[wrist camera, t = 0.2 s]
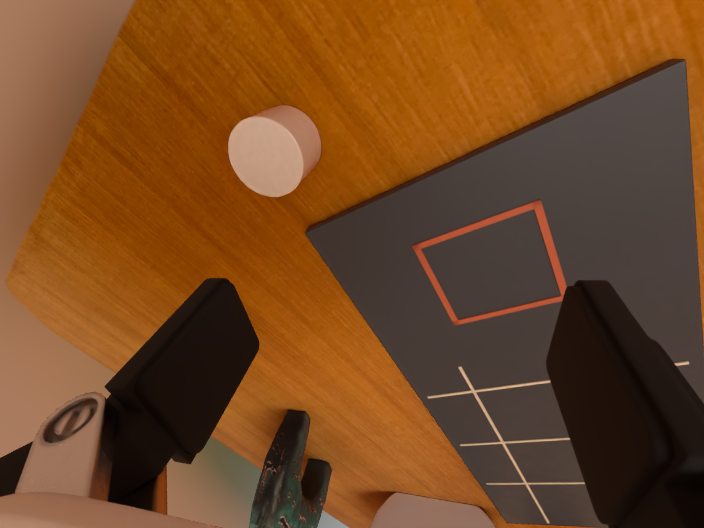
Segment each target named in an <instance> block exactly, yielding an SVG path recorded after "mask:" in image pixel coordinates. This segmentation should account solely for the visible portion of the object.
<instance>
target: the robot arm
mask: <svg viewBox="0 0 704 528" xmlns="http://www.w3.org/2000/svg"><path fill="white" fill-rule="evenodd" d="M258 350H259V340H258V338H257V335H256V333H255V331H254V329H253V326H252V324H251V322H250V320H249V318H248V315H247V313H246V311H245V309H244V306H243V304H242V302H241V300H240V297H239V295H238V293H237V291H236V289H235V286H234V285H233V284H232V283H230V281H229V280H228V279H225V278H209V279H206V280H205V281H204V282H203V283H202V284H201V285H200V286H199V287H198V288H197V289H196V290H195V291H194V292H193V294H192V295H191V296H190V297H189V298H188V299H187V300H186V301H185V302H184V303H183V304H182V305H181V306H180V307H179V308H178V309H177V310H176V311H175V313H174V314H173V315H172V316H171V317H170V318H169V319H168V320H167V321H166V322H165V323H164V324H163V325H162V326H161V327H160V328H159V329H158V331H157V332H156V333H155V334H154V335H153V336H152V337H151V338H150V339H149V340H148V341H147V342H146V343H145V344H144V345H143V346H142V347H141V348H140V350H139V351H138V352H137V353H136V354H135V355H134V356H133V357H132V358H131V359H130V360H129V361H128V362H127V363H126V364H125V365H124V366H123V367H122V369H121V370H120V371H119V372H118V373H117V374H116V375H115V376H114V377H113V378H112V379H111V380H110V381H109V382H108V383H107V384H106V385H105V388H106V389H107V390H108V391H109V392H110V393H111V395H110V396H109V397H108V398H107V399H106V398H105V397H104V396H103V395H102V394H101V393H97V392H91V393H85V394H83V395H80V396H77V397H75V398H73V399H72V400H69V401H67V402H66V403H65V404H63V405H62V406H61V407H59V408H57V409H56V410H55V411H54V412H53V413H52V414H51V415H50V416H49V417H47V419H46V420H45V421H44V422H43V424H42V425H41V426H40V428H39V430H38V431H37V433H36V435H35V438H34V441H33V442H31V443H29V444H27V445H25V446H23V447H21V448H19V449H17V450H15V451H13V452H11V453H9V454H7V455H5V456H3V457H1V458H0V528H221V527H217V526H212V525H208V524H204V523H199V522H195V521H191V520H186V519H182V518H178V517H173V516H169V515H167V474H166V473H167V469H166V468H167V466H166V465H167V463H168V462H169V460H170V458H172V459H173V460H174V461H175V462H181V463H186V464H191V463H192V461H193V459H194V457H195V456H196V454H197V453H199V452H200V451H201V450H202V449H203V448H204V446H205V445H206V443H207V441H208V439H209V438H210V436H211V434H212V432H213V430H214V429H215V427H216V425H217V423H218V422H219V420H220V418H221V416H222V414H223V413H224V411H225V409H226V407H227V406H228V404H229V402H230V400H231V398H232V397H233V395H234V393H235V391H236V390H237V388H238V386H239V384H240V382H241V381H242V379H243V377H244V375H245V374H246V372H247V370H248V368H249V366H250V365H251V363H252V361H253V359H254V358H255V356H256V354H257V352H258ZM546 368H547V372H548V376H549V379H550V382H551V384H552V387H553V390H554V393H555V396H556V399H557V402H558V405H559V408H560V411H561V414H562V417H563V420H564V423H565V426H566V429H567V432H568V435H569V438H570V441H571V444H572V447H573V450H574V453H575V456H576V459H577V462H578V464H579V467H580V470H581V473H582V476H583V479H584V482H585V485H586V488H587V491H588V494H589V497H590V500H591V503H592V506H593V509H594V512H595V514H596V516H597V518H598V520H599V521H600V522H601V523H602V524H606V525H608V527H609V528H704V403H703V402H702V400H701V399H700V398H699V396H698V395H697V394H696V392H695V391H694V389H693V388H692V387H691V385H690V384H689V383H688V381H687V380H686V379H685V377H684V376H683V375H682V373H681V372H680V370H679V369H678V368H677V366H676V365H675V364H674V362H673V361H672V360H671V358H670V357H669V355H668V354H667V353H666V351H665V350H664V349H663V347H662V346H661V345H660V344H659V343H658V342H657V341H655V340H653V339H652V338H649V337H648V336H647V334H646V333H645V331H644V330H643V329H642V327H641V326H640V324H639V323H638V322H637V320H636V319H635V317H634V316H633V315H632V313H631V312H630V310H629V309H628V308H627V306H626V305H625V303H624V302H623V301H622V299H621V298H620V296H619V295H618V294H617V292H616V291H615V289H614V288H613V287H612V285H611V284H610V283H609V282H608V281H606V280H578V281H576V282H575V284H574V286H568V287H567V288H566V290H565V293H564V297H563V300H562V304H561V308H560V311H559V315H558V318H557V322H556V326H555V329H554V333H553V336H552V340H551V344H550V347H549V351H548V354H547V358H546Z"/></svg>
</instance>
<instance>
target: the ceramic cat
mask: <svg viewBox="0 0 704 528" xmlns="http://www.w3.org/2000/svg"><path fill="white" fill-rule="evenodd" d="M309 425H310V418H309V417H308V415H307V414H306V412H301V411H292V410H288V411H287V413H286V415H285V417H284V420H283V422H282V423H281V425H280V427H279V429H278V431H277V433H276V436H275V438H274V440H273V442H272V445H271V447H270V449H269V451H268V453H267V456H266V458H265V462H264V466H263V470H262V473H261V476H260V479H259V483H258V486H257V490H256V494H255V497H254V501H253V505H252V511H251V518H250V525H249V528H317V526H318V523H319V520H320V517H321V513H322V509H323V506H324V503H325V501H326V496H327V491H328V485H329V481H330V476H331V472H332V470H331V468H330V465H329V463H327V462H325V461H321V460H315V459H309V460H308V462H307V465H306V468H305V472H304V475H303V477H302V480H301V469H302V461H303V455H304V451H305V446H306V440H307V436H308V432H309Z"/></svg>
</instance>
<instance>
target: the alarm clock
mask: <svg viewBox="0 0 704 528" xmlns="http://www.w3.org/2000/svg"><path fill="white" fill-rule="evenodd" d="M369 528H496V527H495V526H494V524H493V523H492V521H491V520H490V519H489V517H488V516H487V514H486V513H485V512H484V511H483V510H481V509H480V508H479V507H478V506H474V505H468V504H462V503H456V502H451V501H445V500H439V499H433V498H427V497H421V496H416V495H410V494H404V493H398V492H396V493H394V494H393V495H391V496H390V497H389V498H388V499H387V500H386V501H385V502H384V504H383V505H382V506H381V507H380V508H379V509H378V510H377V512H376V515H375V517H374V519H373V521H372V523H371V525H370V527H369Z"/></svg>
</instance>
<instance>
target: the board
mask: <svg viewBox="0 0 704 528" xmlns="http://www.w3.org/2000/svg"><path fill="white" fill-rule="evenodd" d="M305 234H306V236H307V237H308V239H309V240H310V241H311V243H312V244H313V246H314V247H315V249H316V250H317V251H318V253H319V254H320V256H321V257H322V259H323V260H324V262H325V263H326V264H327V266H328V267H329V269H330V270H331V272H332V273H333V274H334V276H335V277H336V279H337V280H338V282H339V283H340V284H341V286H342V287H343V289H344V290H345V292H346V293H347V295H348V296H349V297H350V299H351V300H352V302H353V303H354V305H355V306H356V307H357V309H358V310H359V312H360V313H361V315H362V316H363V317H364V319H365V320H366V322H367V323H368V325H369V326H370V328H371V329H372V330H373V332H374V333H375V335H376V336H377V338H378V339H379V340H380V342H381V343H382V345H383V346H384V348H385V349H386V350H387V352H388V353H389V355H390V356H391V358H392V359H393V361H394V362H395V363H396V365H397V366H398V368H399V369H400V371H401V372H402V373H403V375H404V376H405V378H406V379H407V381H408V382H409V383H410V385H411V386H412V388H413V389H414V391H415V392H416V394H417V395H418V396H419V398H420V399H421V401H422V402H423V404H424V405H425V406H426V408H427V409H428V411H429V412H430V414H431V415H432V416H433V418H434V419H435V421H436V422H437V424H438V425H439V426H440V428H441V429H442V431H443V432H444V434H445V435H446V437H447V438H448V439H449V441H450V442H451V444H452V445H453V447H454V448H455V449H456V451H457V452H458V454H459V455H460V457H461V458H462V459H463V461H464V462H465V464H466V465H467V467H468V468H469V470H470V471H471V472H472V474H473V475H474V477H475V478H476V480H477V481H478V482H479V484H480V485H481V487H482V488H483V490H484V491H485V492H486V494H487V495H488V497H489V498H490V500H491V501H492V503H493V504H494V505H495V507H496V508H497V510H498V511H499V513H500V514H501V515H502V517H503V518H504V520H505V521H506V523H512V524H535V525H557V526H579V527H602V528H609V527H608V525H606V524H602V523H601V522H600V521H599V520H598V518H597V516H596V514H595V512H594V509H593V506H592V503H591V500H590V497H589V494H588V491H587V488H586V485H585V482H584V479H583V476H582V473H581V470H580V467H579V464H578V462H577V459H576V456H575V453H574V450H573V447H572V444H571V441H570V438H569V435H568V432H567V429H566V426H565V423H564V420H563V417H562V414H561V411H560V408H559V405H558V402H557V399H556V396H555V393H554V390H553V387H552V384H551V382H550V379H549V376H548V372H547V368H546V358H547V354H548V351H549V347H550V344H551V340H552V336H553V333H554V329H555V326H556V322H557V318H558V315H559V311H560V308H561V304H562V300H563V297H564V293H565V290H566V288H567V287H568V286H574V284H575V282H576V281H578V280H606V281H608V282H609V283H610V284H611V285H612V287H613V288H614V289H615V291H616V292H617V294H618V295H619V296H620V298H621V299H622V301H623V302H624V303H625V305H626V306H627V308H628V309H629V310H630V312H631V313H632V315H633V316H634V317H635V319H636V320H637V322H638V323H639V324H640V326H641V327H642V329H643V330H644V331H645V333H646V334H647V336H648V337H649V338H652V339H653V340H655V341H657V342H658V343H659V344H660V345H661V346H662V347H663V349H664V350H665V351H666V353H667V354H668V355H669V357H670V358H671V360H672V361H673V362H674V364H675V365H676V366H677V368H678V369H679V370H680V372H681V373H682V375H683V376H684V377H685V379H686V380H687V381H688V383H689V384H690V385H691V387H692V388H693V389H694V391H695V392H696V394H697V395H698V396H699V398H700V399H701V400H702V402H703V403H704V347H703V331H702V314H701V298H700V282H699V266H698V250H697V234H696V217H695V201H694V185H693V169H692V153H691V137H690V120H689V104H688V88H687V72H686V60H685V59H672V60H670V61H667V62H665V63H663V64H661V65H659V66H657V67H654V68H652V69H650V70H648V71H646V72H644V73H641V74H639V75H637V76H635V77H633V78H631V79H629V80H626V81H624V82H622V83H620V84H618V85H616V86H613V87H611V88H609V89H607V90H605V91H603V92H600V93H598V94H596V95H594V96H592V97H590V98H587V99H585V100H583V101H581V102H579V103H577V104H574V105H572V106H570V107H568V108H566V109H564V110H561V111H559V112H557V113H555V114H553V115H551V116H549V117H546V118H544V119H542V120H540V121H538V122H536V123H533V124H531V125H529V126H527V127H525V128H523V129H520V130H518V131H516V132H514V133H512V134H510V135H507V136H505V137H503V138H501V139H499V140H497V141H494V142H492V143H490V144H488V145H486V146H484V147H481V148H479V149H477V150H475V151H473V152H471V153H469V154H466V155H464V156H462V157H460V158H458V159H456V160H453V161H451V162H449V163H447V164H445V165H443V166H440V167H438V168H436V169H434V170H432V171H430V172H427V173H425V174H423V175H421V176H419V177H417V178H414V179H412V180H410V181H408V182H406V183H404V184H401V185H399V186H397V187H395V188H393V189H391V190H389V191H386V192H384V193H382V194H380V195H378V196H376V197H373V198H371V199H369V200H367V201H365V202H363V203H360V204H358V205H356V206H354V207H352V208H350V209H347V210H345V211H343V212H341V213H339V214H337V215H334V216H332V217H330V218H328V219H326V220H324V221H321V222H319V223H317V224H315V225H313V226H311V227H309V228H308V229H307V230H306V232H305Z"/></svg>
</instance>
